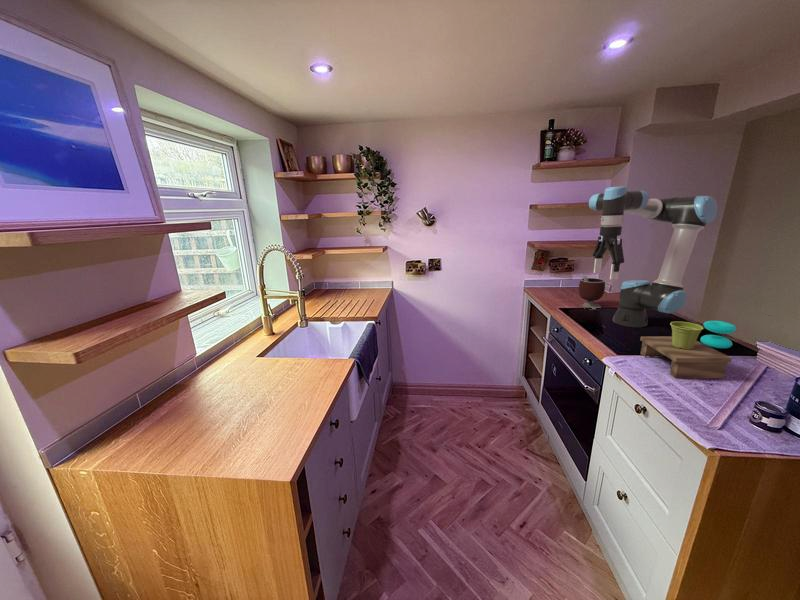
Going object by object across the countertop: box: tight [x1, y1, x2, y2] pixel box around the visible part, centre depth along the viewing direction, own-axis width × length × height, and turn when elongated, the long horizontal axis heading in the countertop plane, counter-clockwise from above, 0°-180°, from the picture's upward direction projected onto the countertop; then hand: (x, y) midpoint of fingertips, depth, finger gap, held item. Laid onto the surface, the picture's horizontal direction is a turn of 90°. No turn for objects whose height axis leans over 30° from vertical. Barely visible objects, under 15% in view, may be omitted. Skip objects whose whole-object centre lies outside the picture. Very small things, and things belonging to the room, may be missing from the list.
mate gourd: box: [578, 272, 606, 310], centre depth 195 cm, size 16×14×20 cm
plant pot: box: [669, 321, 704, 349], centre depth 119 cm, size 9×9×9 cm
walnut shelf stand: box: [640, 335, 733, 379], centre depth 122 cm, size 20×18×8 cm
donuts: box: [699, 320, 737, 349], centre depth 136 cm, size 10×10×10 cm
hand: (605, 276), depth 135 cm, fingers open, 13 cm apart
